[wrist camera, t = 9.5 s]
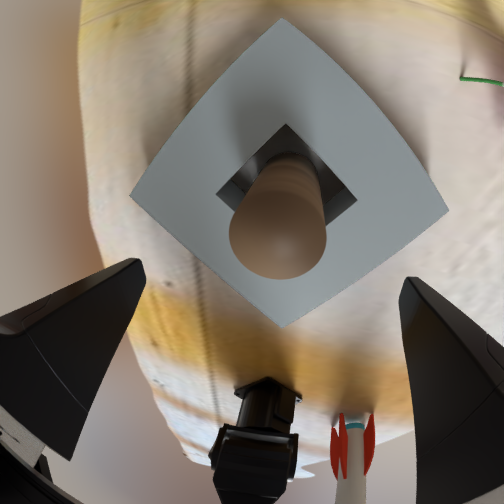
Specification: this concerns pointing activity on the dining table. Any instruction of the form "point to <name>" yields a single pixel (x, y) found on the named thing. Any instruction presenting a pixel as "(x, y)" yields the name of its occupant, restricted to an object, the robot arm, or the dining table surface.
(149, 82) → the dining table surface
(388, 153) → the socket block
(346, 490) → the toy rocket
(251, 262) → the walnut peg
